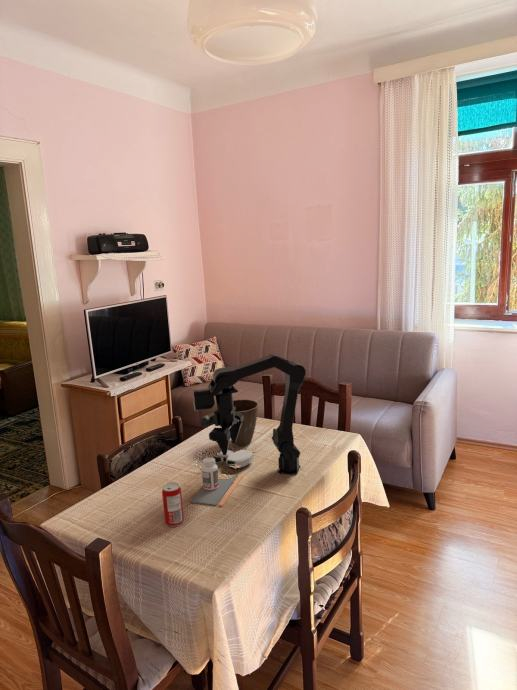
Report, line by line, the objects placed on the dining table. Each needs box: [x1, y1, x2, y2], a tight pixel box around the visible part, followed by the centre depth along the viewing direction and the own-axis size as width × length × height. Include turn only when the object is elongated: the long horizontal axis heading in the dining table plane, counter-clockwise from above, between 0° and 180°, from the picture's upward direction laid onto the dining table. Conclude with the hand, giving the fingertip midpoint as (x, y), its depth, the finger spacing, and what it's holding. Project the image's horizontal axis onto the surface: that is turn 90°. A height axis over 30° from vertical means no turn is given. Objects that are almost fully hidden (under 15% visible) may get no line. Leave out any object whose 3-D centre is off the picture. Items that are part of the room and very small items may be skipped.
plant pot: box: [232, 399, 259, 447], centre depth 199 cm, size 15×15×16 cm
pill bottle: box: [201, 457, 219, 490], centre depth 164 cm, size 5×5×10 cm
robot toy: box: [213, 447, 258, 469], centre depth 182 cm, size 12×4×15 cm
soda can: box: [161, 481, 185, 527], centre depth 145 cm, size 6×6×12 cm
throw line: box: [218, 474, 244, 508], centre depth 163 cm, size 1×20×1 cm, turn 163°
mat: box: [189, 474, 238, 507], centre depth 165 cm, size 9×20×1 cm, turn 163°
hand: (229, 448), depth 168 cm, fingers open, 9 cm apart
